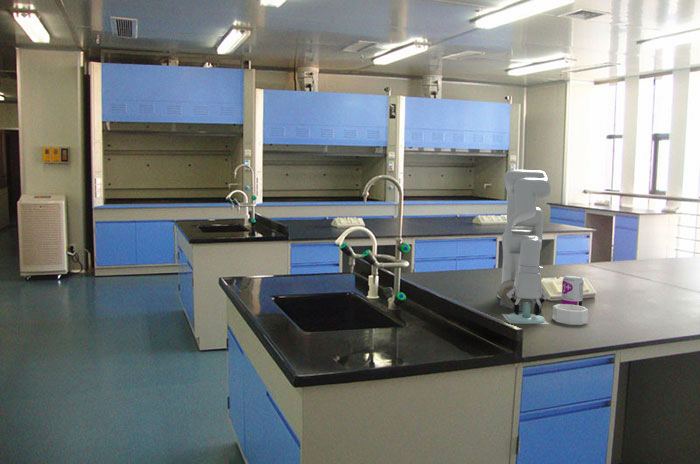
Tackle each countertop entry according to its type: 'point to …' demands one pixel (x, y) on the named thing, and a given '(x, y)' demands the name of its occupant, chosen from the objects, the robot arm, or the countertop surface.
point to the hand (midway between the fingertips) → (526, 314)
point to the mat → (518, 322)
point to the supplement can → (572, 290)
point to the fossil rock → (508, 303)
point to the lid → (526, 316)
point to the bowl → (570, 314)
